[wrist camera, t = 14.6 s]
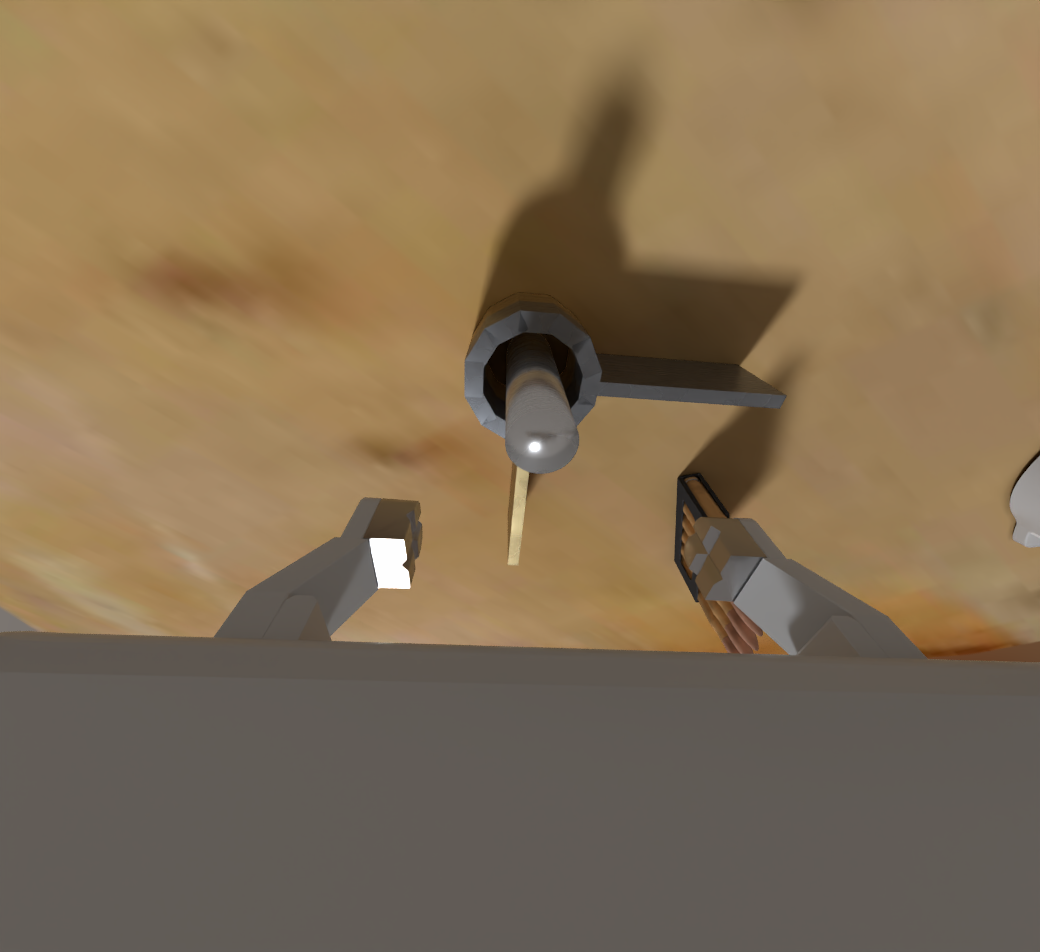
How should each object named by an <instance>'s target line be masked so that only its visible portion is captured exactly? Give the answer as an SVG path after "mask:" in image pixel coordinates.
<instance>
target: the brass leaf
mask: <svg viewBox="0 0 1040 952" xmlns="http://www.w3.org/2000/svg"><path fill="white" fill-rule="evenodd" d="M519 300H520V301H532V302H543V303H554V304H556V305H557V306H558V307H559V308H561V309H562V310H563V311H564V312H566V313H567V314H568V315H570V316H571V317H572V318H573V319H575V320H576V321H577V322H579V321H578V319H577V318H576V316H575V315H574V314H573V313H572V312H570V311H569V310H568V309H567V308H565V307H564V306H563V305H561V304H560V303H559V302H558V301H556V300H555V299H554V298H553V297H551V296H550V295H542V294H531V293H520V292H517V293H515V294H514V295H512V296H510V297H508V298H506V299H504V300H502V301H500V302H498V303H496V304H494V305H493V306H491V307H489V308H488V310H487V312H486V313H485V315H484V317H483V318H482V320H481V322H480V323H479V325H478V327H477V328H476V330H475V332H474V333H473V335H472V339H471V342H470V344H471V343H472V341H473V339H474V338H475V336H476V334H477V333H478V331H479V329H480V328H481V326H482V324H483V323H484V321H485V319H486V318H487V317H488V316H490V315H492V314H493V313H495V312H497V311H499V310H501V309H503V308H505V307H507V306H509V305H511V304H513V303H515V302H517V301H519ZM579 323H580V322H579ZM580 324H581V323H580ZM469 346H470V345H469ZM574 365H575V357H574V354H573V352H572V349H571V348H570V347H569V351H568V357H567V364H566V368H565V370H564V371H563V372H562V373H561V375H560V379H561V382H562V385H563V388H564V391H565V390H566V389H567V387H568V386H569V385H570V384H571V382H572V376H573V371H574ZM485 376H486V378H487V380H488V382H489V384H490V386H491V387H492V389H493V391H494V393H495V395H496V396H497V397H499V398H500V399H502V400H503V401H505V402H506V386H505V385H503V384H502V383H500V382H499V381H497V379H496V377H495V376H494V374H493V372H492V370H491V368H490V366H489V364H488V362H487V363H486V370H485ZM528 478H529V472H527V471H525V470H523V469H521V468H519V467H518V466H516V465H515V464H514V463H512V474H511V486H510V497H509V509H508V565H518V561H519V553H520V545H521V536H522V528H523V519H524V511H525V503H526V494H527V486H528Z"/></svg>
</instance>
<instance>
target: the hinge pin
mask: <svg viewBox="0 0 1040 952" xmlns="http://www.w3.org/2000/svg"><path fill="white" fill-rule="evenodd" d="M505 446H506V451H507V454H508V456H509V458H510V459H511V461H512V462H513V463H514V464H515V465H516V466H518V467H519V468H521V469H523V470H525V471H527V472H531V473H537V474H543V473H550V472H554V471H556V470H559V469H561V468H562V467H564V466H565V465H567V464H568V463H569V462H570V461H571V460H572V458H573V457H574V455H575V454H576V452H577V449H578V446H579V434H578V431H577V428H576V424H575V421H574V418H573V415H572V412H571V409H570V406H569V403H568V400H567V397H566V394H565V391H564V388H563V385H562V382H561V379H560V376H559V373H558V370H557V366H556V363H555V360H554V357H553V354H552V351H551V348H550V345H549V343H548V341H547V340H546V339H545V338H544V337H543V336H542V335H540V334H538V333H529V332H523V333H521V334H519V335H517V336H515V337H514V338H513V339H512V340H511V342H510V343H509V345H508V348H507V362H506V430H505Z"/></svg>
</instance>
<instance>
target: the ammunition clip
mask: <svg viewBox="0 0 1040 952" xmlns="http://www.w3.org/2000/svg"><path fill="white" fill-rule="evenodd" d="M700 517H716V518H729V513H728V511H727V510H726V508H725V507H724V506H723V504H722V503H721V502H720V500H719V499H718V497H717V496H716V495H715V493H714V492H713V490H712V489H711V488H710V486H709V485H708V483H707V482H706V481H705V479H704V478H703V477H702V475H701V474H700V473H697V474H692V475H687V476H681V477H679V478H678V481H677V507H676V533H675V559H674V561H675V563H676V565H677V567H678V568H679V570H680V572H681V574H682V576H683V578H684V580H685V582H686V584H687V586H688V588H689V590H690V592H691V594H692V596H693V598H694V600H695V602H699V603H700V605H701V607H702V609H703V611H704V613H705V615H706V617H707V619H708V621H709V623H710V624H711V626H712V628H713V629H714V630H715V631H716V633H717V634H718V636H719V638H720V639H721V641H722V643H723V644H724V646H725V648H726V650H727V652H728V653H741V654H753V650H752V648H753V649H754V650H756V651H758V649H759V647H758V641H757V637H756V634H757V635H759V636H762V635H763V631H762V629H761V628H760V627H759V626H758V625H757V624H755V623H754V622H753V621H752V620H751V619H750V618H749V617H748V616H747V615H746V614H745V613H743V612H742V611H741V610H740V609H739V608H738V607H737V606H736V605H735V604H734V602H730V601H715V600H705V599H704V597H703V595H702V593H701V592H700V590H699V588H698V586H697V584H696V582H695V580H696V577H697V575H696V574H695V573H694V572H692V571H691V570H690V569H689V568H688V566H687V564H686V562H685V557H684V546H685V543H686V541H687V539H688V537H690V536H691V535H693V534H694V533H695V530H694V528H693V526H694V524H695V522H696V520H697V519H698V518H700ZM755 633H756V634H755Z"/></svg>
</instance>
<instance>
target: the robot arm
mask: <svg viewBox="0 0 1040 952" xmlns="http://www.w3.org/2000/svg"><path fill="white" fill-rule="evenodd" d="M1010 509H1011V512H1012V514H1013V515H1014V517H1015V519H1016V521H1017V524H1016V527H1015V530H1014V533H1013V540H1014V541H1016V542H1018V543H1020V544H1022V545H1024V546H1026V547H1040V456H1039V457H1038V458H1037V459H1036V460H1035V461H1034V462H1033V463H1032V464H1031V465H1030V466H1029V468H1028V469H1027V470H1026V471H1025V472H1024V474H1023V475H1022V476H1021V478H1020V479H1019V481H1018V482H1017V484H1016V486H1015V488H1014V490H1013V492H1012V495H1011V499H1010ZM420 514H421V509H420V503H419V502H418V501H411V500H398V499H385V498H383V499H381V498H367V497H364V498H363V499H362V500H360V502H359V504H358V506H357V508H356V510H355V512H354V513H353V515H352V517H351V519H350V521H349V523H348V524H347V526H346V528H345V530H344V532H343V534H342V536H341V537H340V538H338V537H335V538H333V539H331V540H330V541H328V542H326V543H325V544H323V545H322V546H320V547H318V548H317V549H315V550H313V551H312V552H310V553H308V554H307V555H305V556H304V557H302V558H300V559H299V560H297V561H295V562H294V563H292V564H290V565H289V566H287V567H286V568H284V569H282V570H281V571H279V572H277V573H276V574H274V575H273V576H271V577H269V578H268V579H266V580H264V581H263V582H261V583H259V584H258V585H256V586H255V587H253V588H251V589H250V590H248V591H246V593H245V594H244V596H243V597H242V598H241V600H240V601H239V602H238V604H237V605H236V607H235V608H234V609H233V611H232V612H231V614H230V615H229V616H228V618H227V619H226V621H225V622H224V623H223V625H222V626H221V628H220V629H219V630H218V632H217V633H216V635H215V636H214V637H178V636H144V635H110V634H76V633H54V632H34V631H22V632H21V631H18V632H17V631H15V632H1V633H0V952H1040V663H1039V662H1038V663H1037V662H1004V661H1003V662H1002V661H967V660H966V661H965V660H936V659H927V658H926V657H925V656H924V655H923V653H922V652H921V651H920V650H919V649H918V648H917V647H916V646H915V645H914V644H913V643H912V642H911V641H910V640H909V639H908V638H907V637H906V635H905V634H904V633H903V632H902V631H901V630H900V629H899V628H898V627H897V626H896V625H895V624H894V623H893V622H892V621H891V620H890V619H889V617H888V616H886V615H884V614H883V613H881V612H879V611H877V610H876V609H874V608H872V607H871V606H869V605H867V604H866V603H864V602H862V601H861V600H859V599H857V598H856V597H854V596H852V595H851V594H849V593H847V592H846V591H844V590H842V589H841V588H839V587H837V586H836V585H834V584H832V583H831V582H829V581H827V580H826V579H824V578H822V577H821V576H819V575H817V574H816V573H814V572H812V571H811V570H809V569H807V568H805V567H804V566H802V565H800V564H799V563H797V562H795V561H794V560H792V559H786V558H785V556H784V555H783V554H782V553H781V552H780V550H779V549H778V548H777V547H776V545H775V544H774V543H773V542H772V541H771V539H770V538H769V537H768V536H767V534H766V533H765V532H764V531H763V529H762V528H761V527H760V526H759V525H758V523H757V522H756V521H754V520H752V519H750V518H716V517H700V518H698V519H697V520H696V522H695V524H694V526H693V528H694V530H695V533H694V534H693V535H691V536H690V537H688V539H687V541H686V543H685V546H684V557H685V562H686V564H687V566H688V568H689V569H690V570H691V571H692V572H694V573H695V574H696V575H697V577H696V580H695V582H696V584H697V586H698V588H699V590H700V592H701V593H702V595H703V597H704V599H705V600H715V601H730V602H734V604H735V605H736V606H737V607H738V608H739V609H740V610H741V611H742V612H743V613H745V614H746V615H747V616H748V617H749V618H750V619H751V620H752V621H753V622H754V623H755V624H757V625H758V626H759V627H760V628H761V629H762V630H763V631H764V632H765V633H766V634H767V635H769V636H770V637H771V638H772V639H773V640H774V641H775V642H776V643H777V644H778V645H780V646H781V647H782V648H783V649H784V650H785V651H786V652H787V653H788V654H789V655H774V654H741V653H708V652H674V651H640V650H608V649H576V648H543V647H510V646H477V645H444V644H411V643H378V642H345V641H332V640H331V637H330V636H331V635H332V634H333V633H334V632H335V631H336V630H337V629H338V628H339V627H340V626H341V625H342V624H343V623H344V622H345V621H346V620H347V619H348V618H349V617H350V616H351V615H352V614H353V613H354V612H355V611H356V610H358V609H359V608H360V607H361V606H362V605H363V604H364V603H365V602H366V601H367V600H368V599H369V598H370V597H371V596H372V595H373V594H374V593H375V592H376V591H377V590H378V588H410V586H411V583H412V579H413V576H414V572H415V559H416V558H418V557H419V554H420V550H421V544H422V524H421V523H420V522H419V521H418V520H419V517H420Z"/></svg>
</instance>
